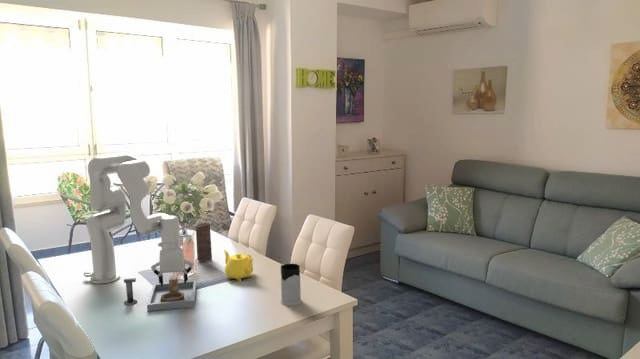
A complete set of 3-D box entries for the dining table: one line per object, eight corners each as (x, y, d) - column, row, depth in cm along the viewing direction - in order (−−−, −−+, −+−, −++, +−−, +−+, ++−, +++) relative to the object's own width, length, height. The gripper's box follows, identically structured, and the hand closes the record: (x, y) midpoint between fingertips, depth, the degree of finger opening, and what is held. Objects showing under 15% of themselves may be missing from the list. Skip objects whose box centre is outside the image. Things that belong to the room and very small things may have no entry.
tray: (147, 312, 188) (146, 304, 188) (154, 290, 210) (153, 284, 209) (194, 307, 192) (194, 300, 192) (196, 286, 213) (196, 280, 213)
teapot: (267, 276, 225) (266, 253, 223) (244, 286, 213) (243, 261, 212) (237, 267, 237) (236, 245, 235) (214, 276, 225) (213, 253, 224)
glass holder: (285, 307, 191) (284, 271, 189) (272, 295, 203) (271, 261, 201) (305, 303, 195) (304, 268, 192) (291, 291, 207) (290, 258, 205)
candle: (208, 263, 243) (206, 225, 240) (194, 263, 245) (192, 225, 241) (214, 258, 251) (212, 221, 247) (201, 258, 252) (199, 221, 249)
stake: (123, 305, 194) (121, 281, 193) (125, 300, 199) (123, 277, 198) (136, 304, 195) (134, 280, 194) (138, 299, 200) (136, 276, 199)
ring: (160, 305, 193) (159, 289, 192) (163, 291, 207) (162, 276, 206) (183, 303, 195) (182, 287, 194) (185, 289, 209) (184, 274, 208)
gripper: (148, 249, 197) (151, 288, 199) (191, 246, 200) (194, 284, 203) (150, 243, 204) (153, 282, 207) (192, 240, 208) (194, 278, 210)
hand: (173, 283), depth 205 cm, fingers open, 9 cm apart
